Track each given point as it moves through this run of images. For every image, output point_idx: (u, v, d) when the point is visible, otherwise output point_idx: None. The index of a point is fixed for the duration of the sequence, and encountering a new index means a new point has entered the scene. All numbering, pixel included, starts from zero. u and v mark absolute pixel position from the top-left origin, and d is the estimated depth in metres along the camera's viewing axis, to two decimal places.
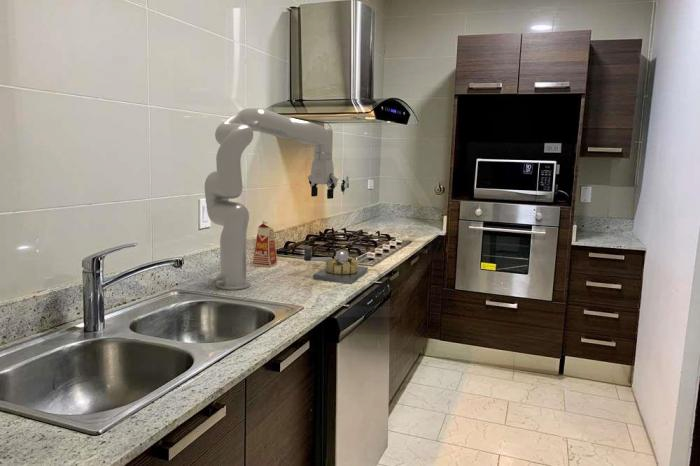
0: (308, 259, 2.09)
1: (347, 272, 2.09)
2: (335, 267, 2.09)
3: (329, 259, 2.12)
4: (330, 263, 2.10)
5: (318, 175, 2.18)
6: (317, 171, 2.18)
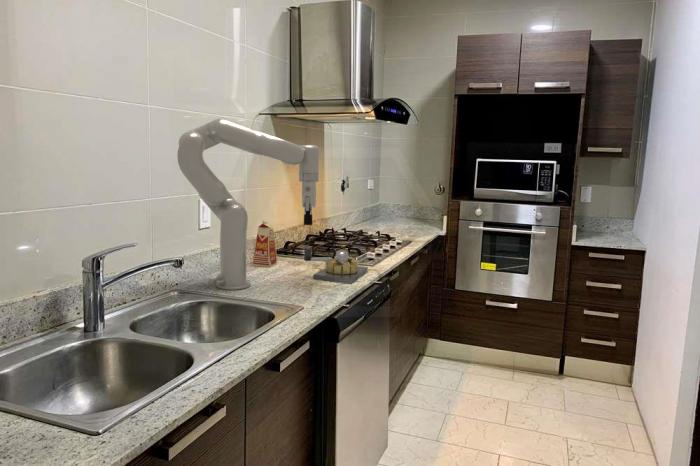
0: (308, 259, 2.09)
1: (347, 272, 2.09)
2: (335, 267, 2.09)
3: (329, 259, 2.12)
4: (330, 263, 2.10)
5: None
6: None
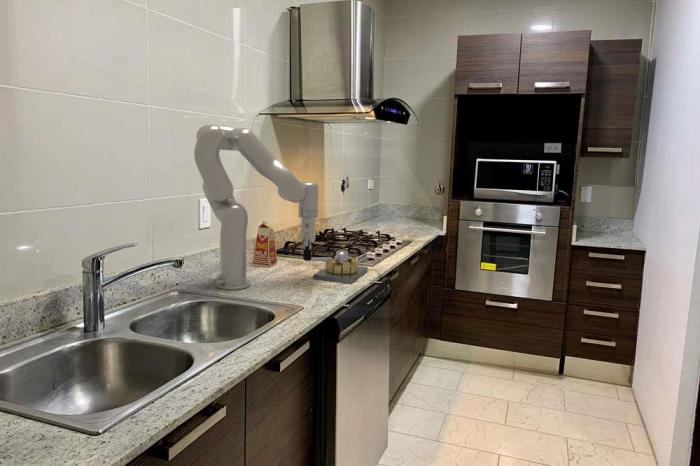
0: None
1: (347, 272, 2.09)
2: (335, 267, 2.09)
3: (329, 259, 2.12)
4: (330, 263, 2.10)
5: None
6: None
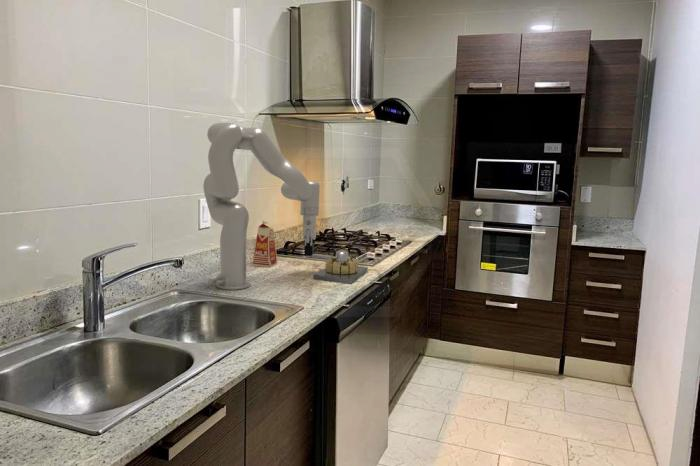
0: None
1: (337, 272, 2.09)
2: (327, 265, 2.11)
3: (328, 257, 2.15)
4: (326, 261, 2.14)
5: None
6: None
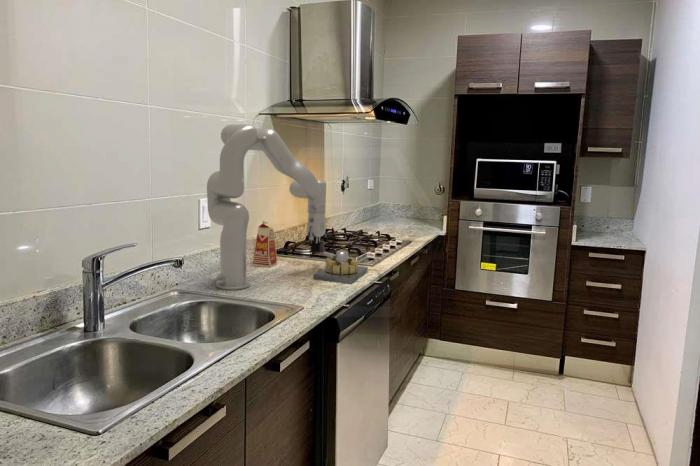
0: None
1: (330, 271, 2.11)
2: (325, 263, 2.15)
3: (331, 256, 2.18)
4: None
5: (321, 227, 2.19)
6: (321, 224, 2.18)
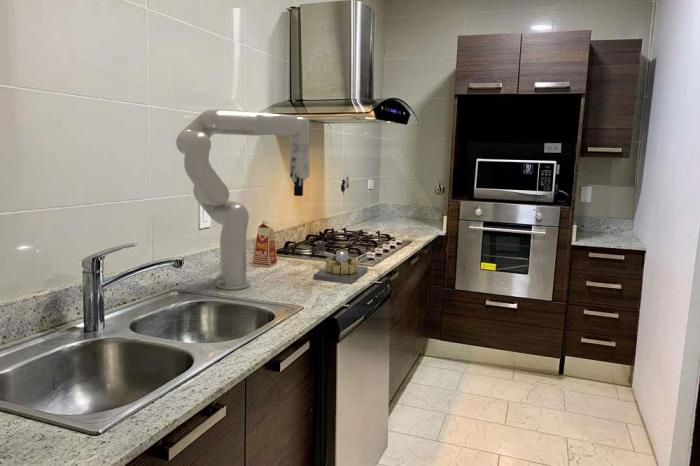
0: (317, 251, 2.24)
1: (330, 271, 2.11)
2: (325, 263, 2.15)
3: (331, 256, 2.18)
4: None
5: (305, 169, 2.04)
6: (305, 165, 2.04)
